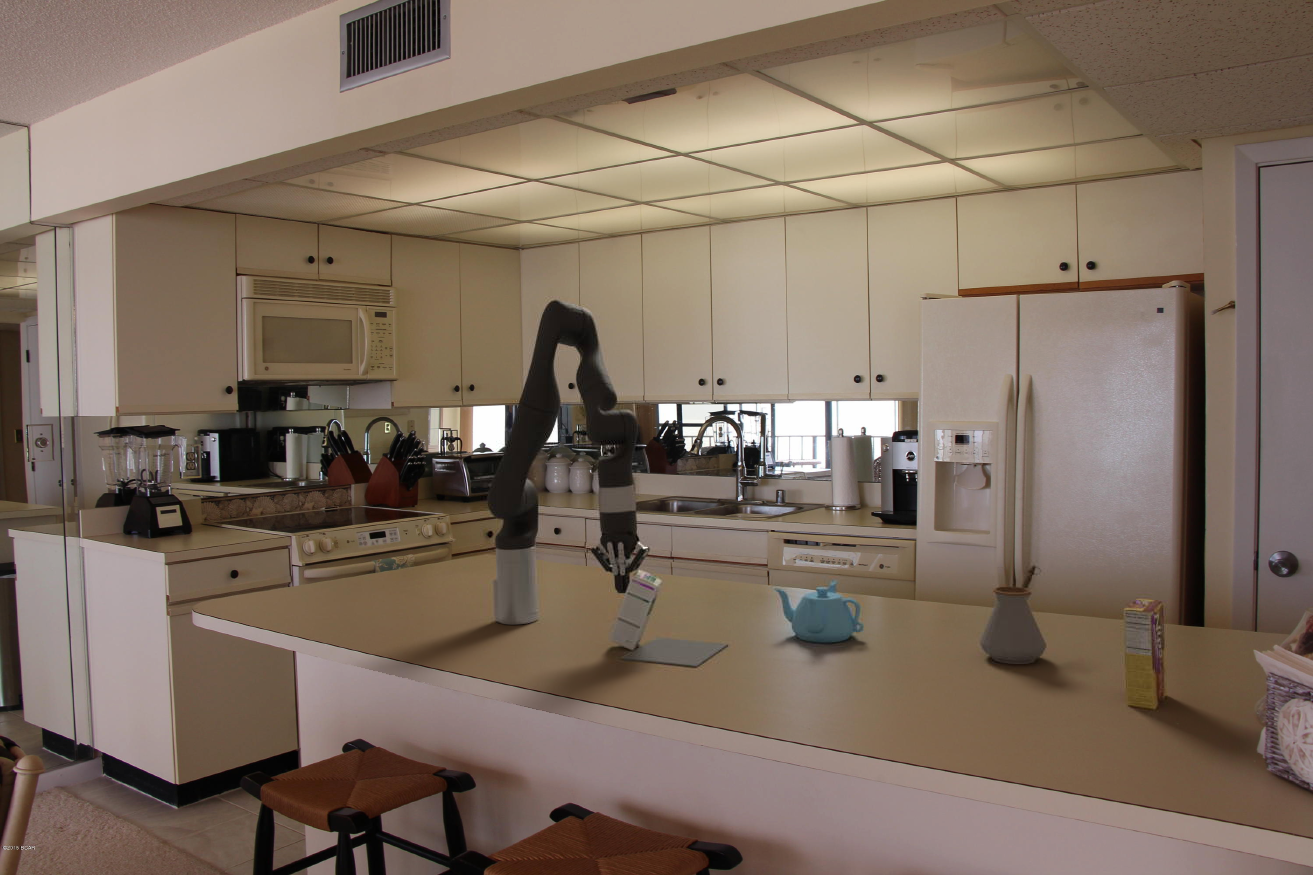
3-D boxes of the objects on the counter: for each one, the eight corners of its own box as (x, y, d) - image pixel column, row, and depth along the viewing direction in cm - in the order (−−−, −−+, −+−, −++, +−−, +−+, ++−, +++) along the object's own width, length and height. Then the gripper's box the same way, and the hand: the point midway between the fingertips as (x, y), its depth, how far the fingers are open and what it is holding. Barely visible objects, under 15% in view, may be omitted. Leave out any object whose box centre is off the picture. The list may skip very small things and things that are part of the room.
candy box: (1137, 690, 147) (1136, 597, 147) (1167, 695, 144) (1166, 600, 144) (1123, 705, 140) (1122, 608, 140) (1154, 710, 138) (1153, 611, 137)
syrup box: (633, 651, 180) (659, 586, 178) (606, 639, 181) (632, 574, 179) (639, 642, 186) (664, 579, 184) (613, 630, 187) (638, 567, 185)
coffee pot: (1036, 671, 159) (1035, 586, 158) (971, 661, 166) (969, 580, 165) (1067, 643, 176) (1066, 567, 175) (1006, 635, 183) (1005, 562, 182)
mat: (621, 658, 175) (620, 657, 175) (657, 638, 189) (657, 637, 189) (696, 667, 168) (696, 665, 168) (728, 645, 182) (728, 643, 182)
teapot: (873, 641, 182) (872, 591, 182) (807, 650, 177) (806, 598, 177) (836, 625, 196) (835, 578, 196) (773, 632, 191) (772, 584, 191)
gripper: (580, 510, 183) (585, 595, 184) (637, 510, 177) (643, 597, 178) (598, 506, 190) (603, 587, 190) (654, 505, 184) (660, 589, 184)
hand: (623, 592), depth 184 cm, fingers closed
